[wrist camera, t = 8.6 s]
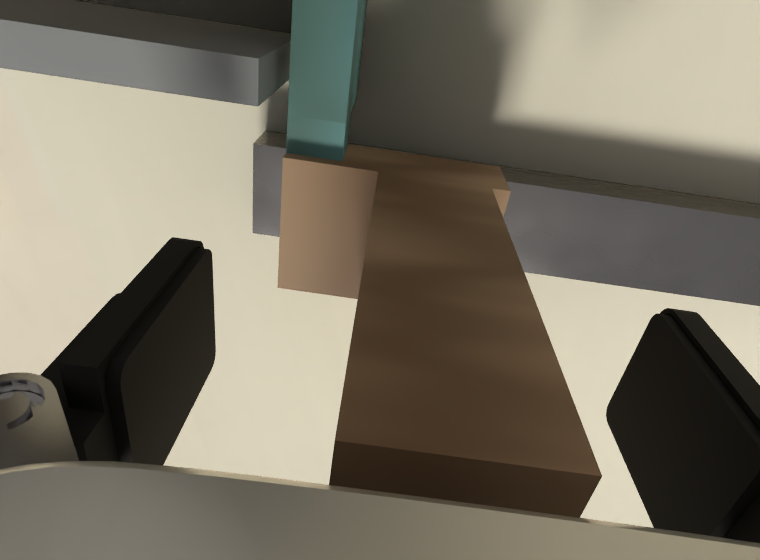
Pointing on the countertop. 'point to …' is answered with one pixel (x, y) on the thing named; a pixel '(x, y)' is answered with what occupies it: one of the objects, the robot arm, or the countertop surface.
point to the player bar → (421, 302)
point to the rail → (595, 230)
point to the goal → (143, 50)
